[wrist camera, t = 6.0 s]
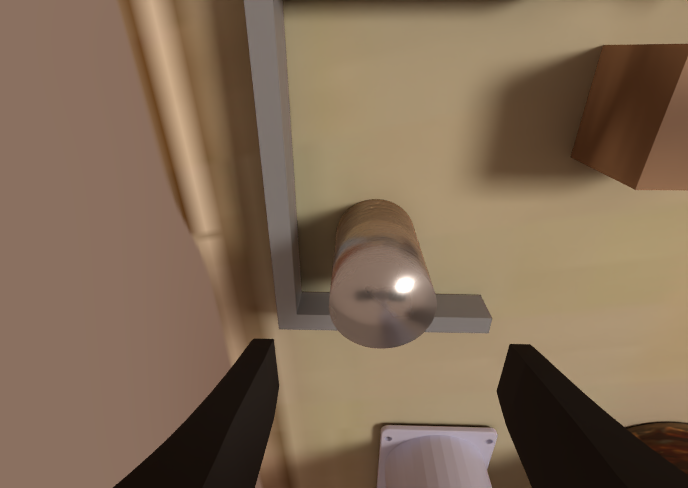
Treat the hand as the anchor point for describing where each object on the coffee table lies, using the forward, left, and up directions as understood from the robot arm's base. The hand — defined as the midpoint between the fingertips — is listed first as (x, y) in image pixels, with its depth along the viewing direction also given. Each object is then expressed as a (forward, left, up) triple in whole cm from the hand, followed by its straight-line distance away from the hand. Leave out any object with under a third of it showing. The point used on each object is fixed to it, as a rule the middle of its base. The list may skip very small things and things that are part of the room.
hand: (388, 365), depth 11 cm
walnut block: (+7, -11, -9) cm, 16 cm away
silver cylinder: (0, 0, -9) cm, 9 cm away
